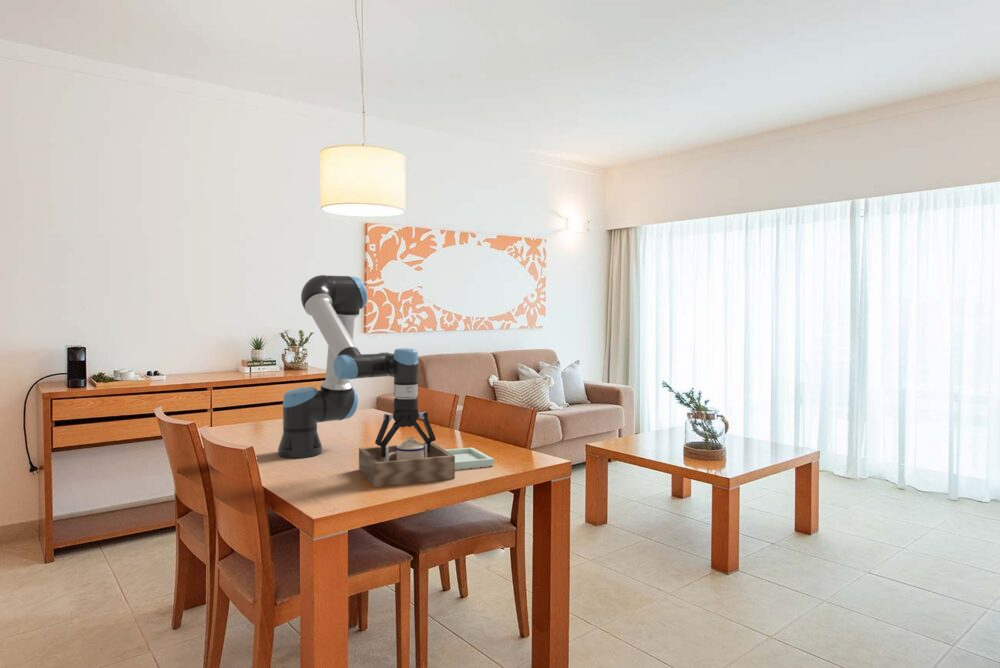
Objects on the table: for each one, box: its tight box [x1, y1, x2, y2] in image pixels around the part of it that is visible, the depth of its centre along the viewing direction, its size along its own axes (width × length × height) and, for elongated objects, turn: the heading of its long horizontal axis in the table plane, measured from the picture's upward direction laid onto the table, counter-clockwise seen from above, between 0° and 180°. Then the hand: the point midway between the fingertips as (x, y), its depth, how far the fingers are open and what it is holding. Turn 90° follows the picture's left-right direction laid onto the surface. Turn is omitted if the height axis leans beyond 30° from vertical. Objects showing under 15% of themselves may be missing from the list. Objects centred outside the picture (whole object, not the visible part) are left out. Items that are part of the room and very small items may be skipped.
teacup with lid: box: [389, 436, 425, 460], centre depth 201 cm, size 12×9×12 cm
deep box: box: [358, 441, 456, 488], centre depth 201 cm, size 25×22×7 cm
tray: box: [444, 446, 495, 471], centre depth 218 cm, size 16×19×2 cm
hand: (405, 465), depth 201 cm, fingers closed on teacup with lid, 12 cm apart
